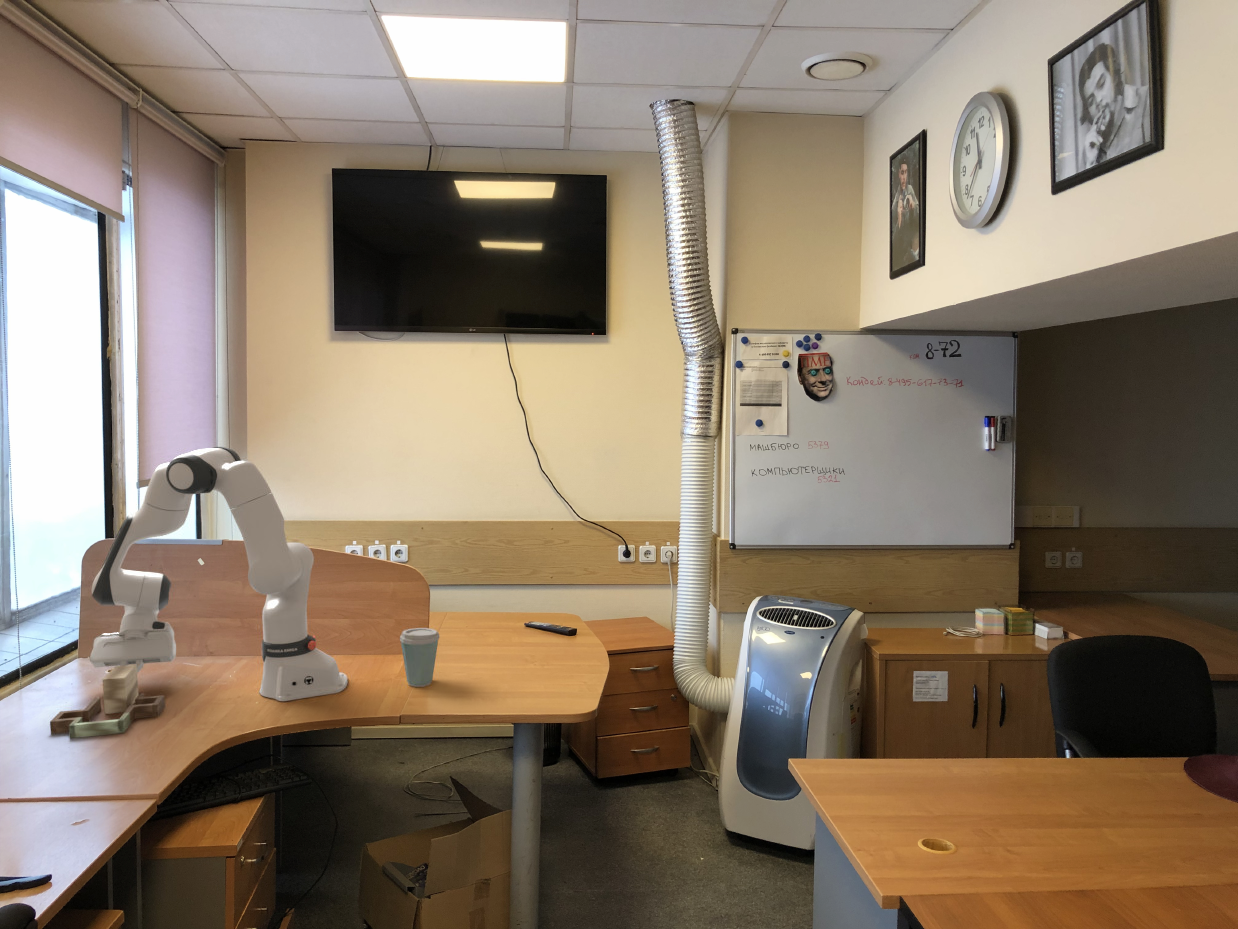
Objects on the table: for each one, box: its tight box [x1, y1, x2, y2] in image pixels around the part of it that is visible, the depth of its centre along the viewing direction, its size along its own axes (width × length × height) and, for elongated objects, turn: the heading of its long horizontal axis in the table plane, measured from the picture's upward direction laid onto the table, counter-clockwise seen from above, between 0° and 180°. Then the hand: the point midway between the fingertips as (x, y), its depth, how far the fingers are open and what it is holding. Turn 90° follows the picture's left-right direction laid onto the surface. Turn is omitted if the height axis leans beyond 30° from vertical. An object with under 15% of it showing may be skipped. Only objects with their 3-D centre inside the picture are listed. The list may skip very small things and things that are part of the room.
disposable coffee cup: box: [399, 627, 440, 688], centre depth 232 cm, size 11×11×15 cm
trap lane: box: [49, 692, 166, 739], centre depth 208 cm, size 22×18×3 cm
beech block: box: [101, 664, 139, 715], centre depth 217 cm, size 5×10×9 cm, turn 15°
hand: (129, 678), depth 224 cm, fingers closed
